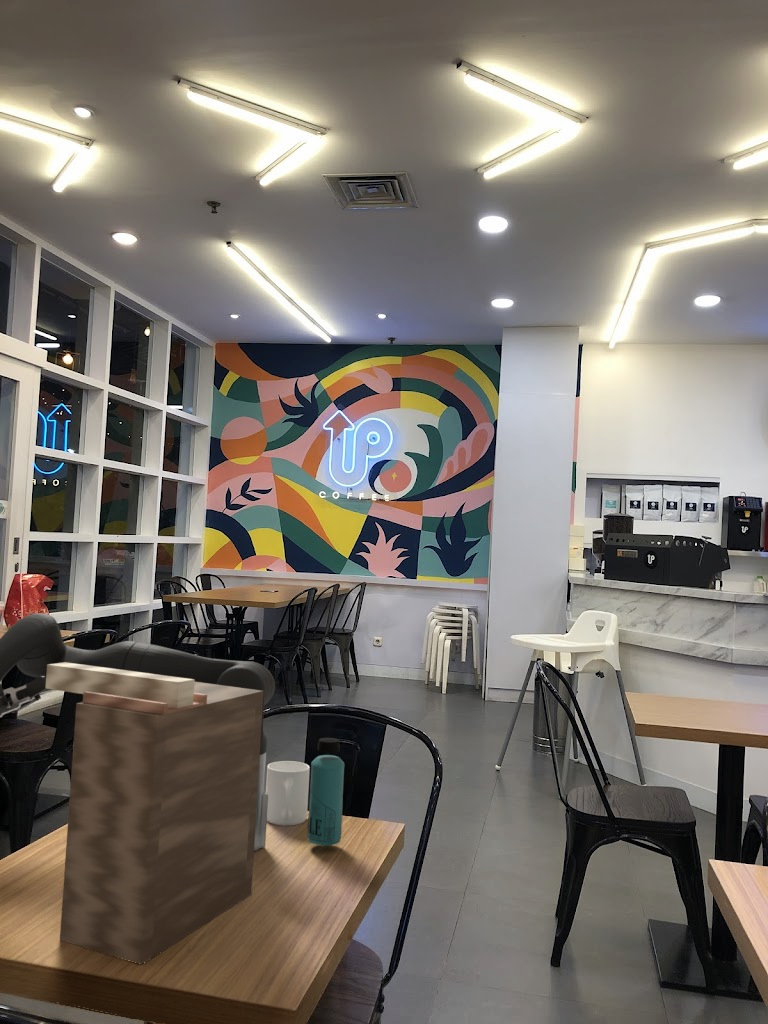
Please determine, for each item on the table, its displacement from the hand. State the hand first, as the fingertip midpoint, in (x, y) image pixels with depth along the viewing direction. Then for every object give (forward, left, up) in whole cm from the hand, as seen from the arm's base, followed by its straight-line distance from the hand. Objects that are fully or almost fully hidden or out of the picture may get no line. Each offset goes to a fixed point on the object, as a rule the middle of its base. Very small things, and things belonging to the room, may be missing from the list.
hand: (23, 685), depth 128 cm
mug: (-55, -12, -32) cm, 65 cm away
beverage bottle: (-54, +4, -32) cm, 63 cm away
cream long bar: (-9, +16, 0) cm, 18 cm away
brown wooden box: (-18, +17, -32) cm, 40 cm away
